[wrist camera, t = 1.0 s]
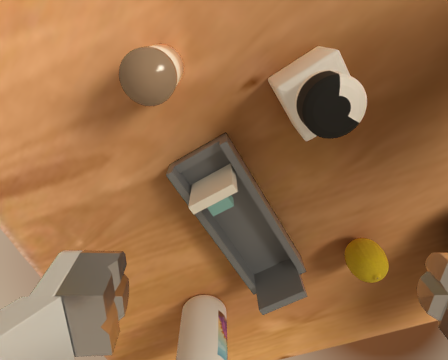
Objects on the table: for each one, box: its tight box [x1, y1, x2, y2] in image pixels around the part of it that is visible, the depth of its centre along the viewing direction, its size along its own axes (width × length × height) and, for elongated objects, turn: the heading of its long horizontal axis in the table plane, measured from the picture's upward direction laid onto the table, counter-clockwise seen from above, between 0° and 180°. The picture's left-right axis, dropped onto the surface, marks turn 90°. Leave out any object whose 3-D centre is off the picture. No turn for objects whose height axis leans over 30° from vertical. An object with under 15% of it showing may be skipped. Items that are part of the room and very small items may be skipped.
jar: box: [119, 44, 184, 106], centre depth 35 cm, size 5×5×9 cm
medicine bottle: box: [268, 46, 367, 141], centre depth 35 cm, size 7×7×12 cm
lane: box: [166, 133, 307, 315], centre depth 44 cm, size 9×24×8 cm, turn 30°
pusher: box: [188, 163, 238, 216], centre depth 41 cm, size 6×3×6 cm, turn 120°
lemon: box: [344, 238, 389, 283], centre depth 47 cm, size 6×6×8 cm
